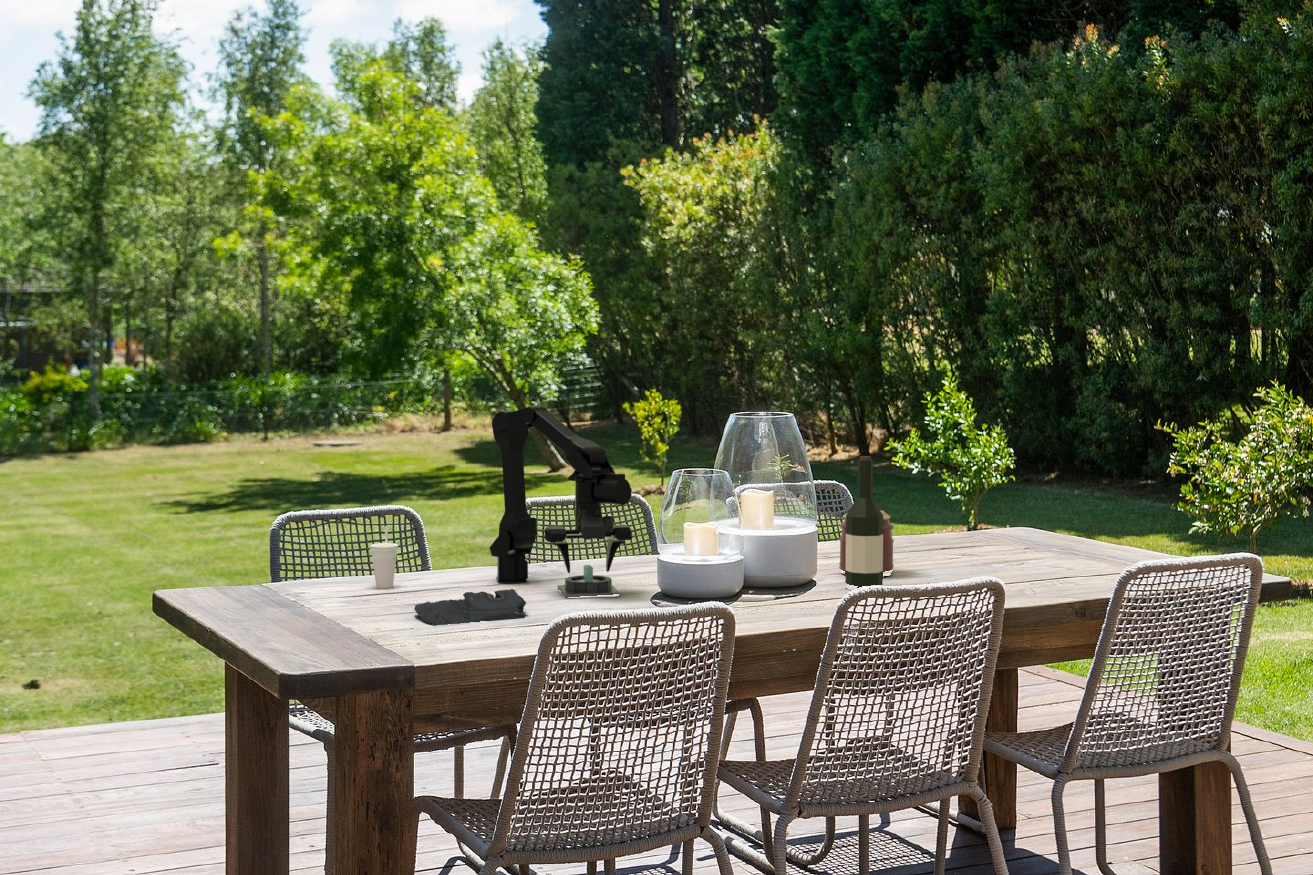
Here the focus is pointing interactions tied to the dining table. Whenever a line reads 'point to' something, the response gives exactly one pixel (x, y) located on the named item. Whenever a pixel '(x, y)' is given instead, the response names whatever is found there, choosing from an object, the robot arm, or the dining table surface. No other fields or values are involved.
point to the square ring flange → (587, 586)
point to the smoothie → (384, 562)
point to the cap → (588, 574)
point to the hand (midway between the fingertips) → (588, 572)
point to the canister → (886, 544)
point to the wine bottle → (864, 532)
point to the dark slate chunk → (473, 608)
